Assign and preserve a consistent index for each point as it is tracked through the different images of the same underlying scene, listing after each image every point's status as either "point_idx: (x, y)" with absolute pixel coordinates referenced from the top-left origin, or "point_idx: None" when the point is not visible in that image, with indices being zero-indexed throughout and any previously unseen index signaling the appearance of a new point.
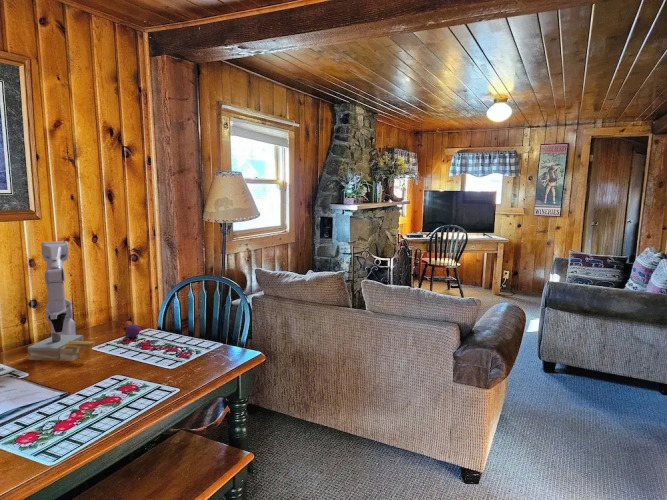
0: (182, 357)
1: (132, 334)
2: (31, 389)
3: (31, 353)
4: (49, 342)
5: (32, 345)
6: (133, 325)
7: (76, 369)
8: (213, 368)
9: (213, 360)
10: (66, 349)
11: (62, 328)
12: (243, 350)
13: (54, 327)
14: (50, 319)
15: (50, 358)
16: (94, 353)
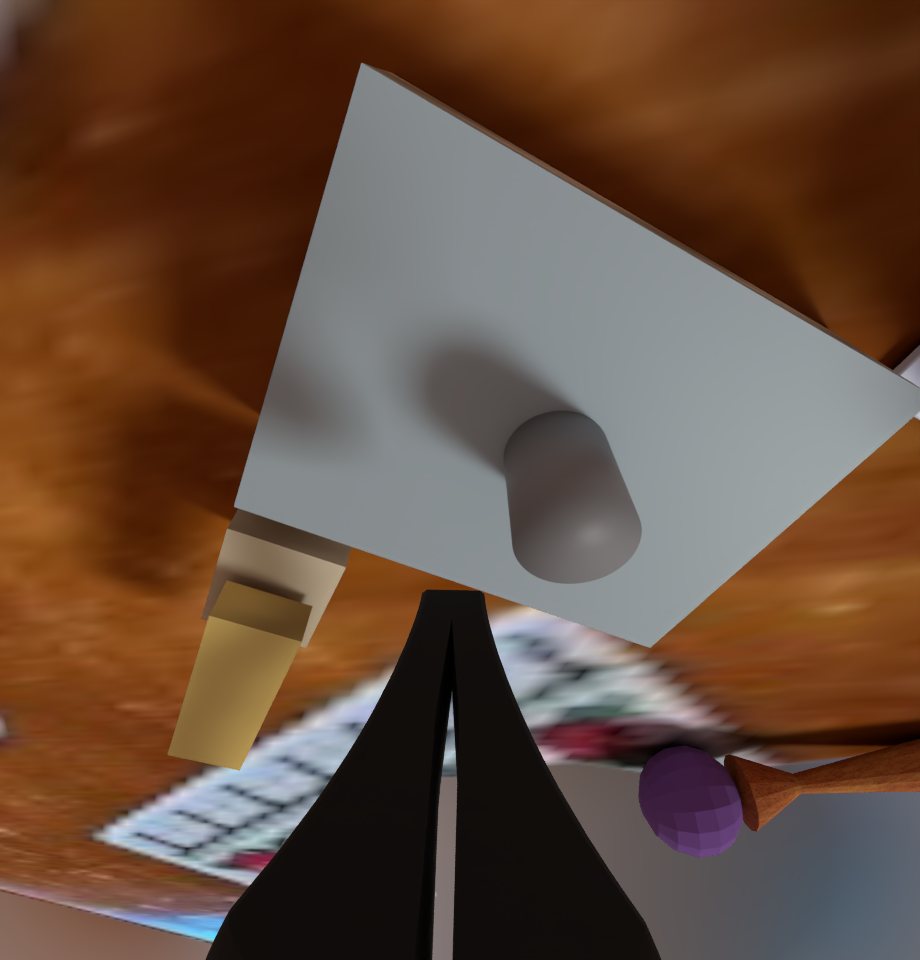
0: (232, 858)
1: (640, 784)
2: None
3: None
4: (525, 384)
5: (460, 138)
6: (685, 852)
7: (62, 568)
8: (103, 893)
9: (186, 897)
10: (216, 573)
11: (449, 700)
12: None
13: (398, 672)
14: (242, 907)
15: None
16: (399, 624)
